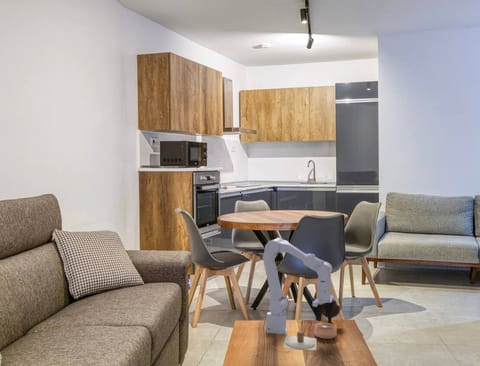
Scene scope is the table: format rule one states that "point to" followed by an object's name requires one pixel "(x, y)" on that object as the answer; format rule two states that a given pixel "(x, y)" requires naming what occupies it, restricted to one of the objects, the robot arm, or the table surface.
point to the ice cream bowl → (334, 312)
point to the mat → (297, 348)
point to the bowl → (325, 330)
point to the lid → (300, 341)
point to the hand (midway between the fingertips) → (323, 318)
